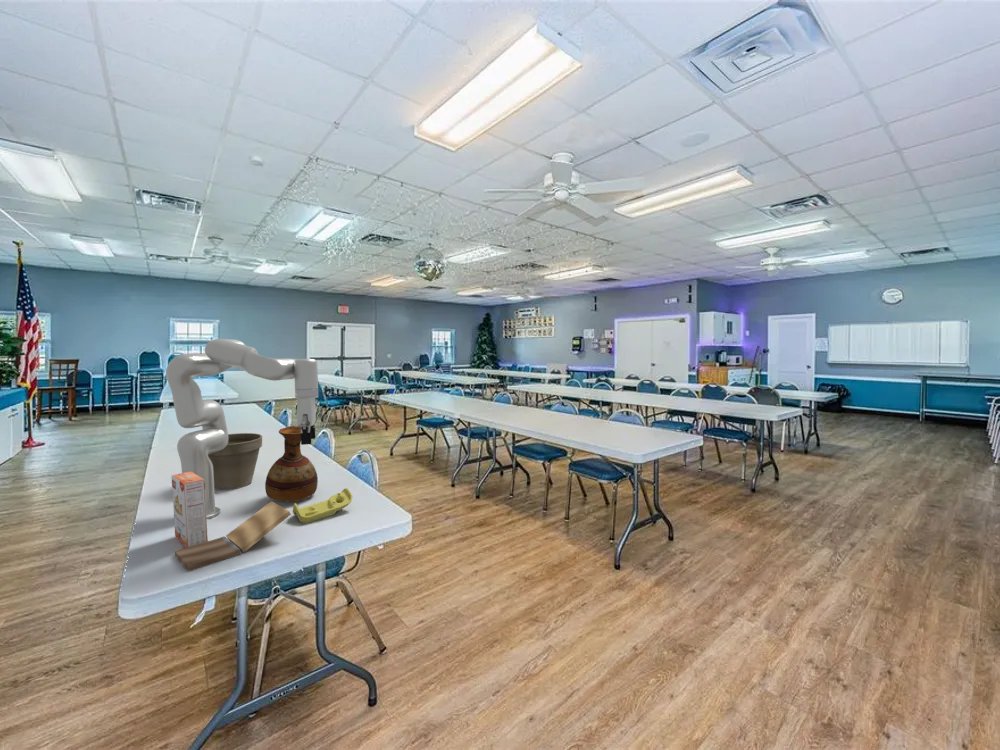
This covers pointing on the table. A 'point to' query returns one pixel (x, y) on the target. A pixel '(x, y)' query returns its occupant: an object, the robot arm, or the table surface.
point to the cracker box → (189, 508)
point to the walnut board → (206, 553)
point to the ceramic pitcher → (291, 471)
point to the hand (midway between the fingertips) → (308, 441)
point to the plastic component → (323, 507)
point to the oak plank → (258, 526)
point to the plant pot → (236, 461)
